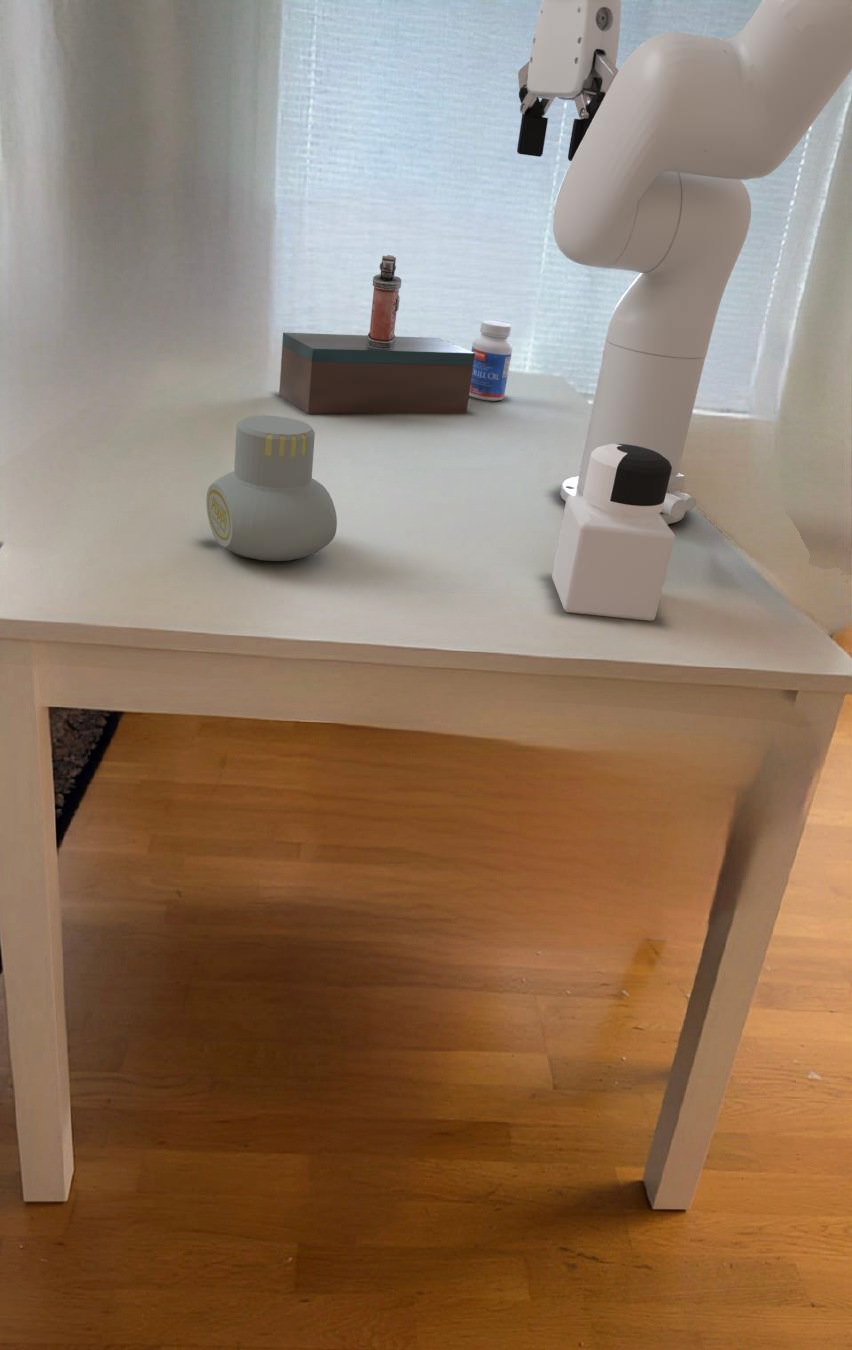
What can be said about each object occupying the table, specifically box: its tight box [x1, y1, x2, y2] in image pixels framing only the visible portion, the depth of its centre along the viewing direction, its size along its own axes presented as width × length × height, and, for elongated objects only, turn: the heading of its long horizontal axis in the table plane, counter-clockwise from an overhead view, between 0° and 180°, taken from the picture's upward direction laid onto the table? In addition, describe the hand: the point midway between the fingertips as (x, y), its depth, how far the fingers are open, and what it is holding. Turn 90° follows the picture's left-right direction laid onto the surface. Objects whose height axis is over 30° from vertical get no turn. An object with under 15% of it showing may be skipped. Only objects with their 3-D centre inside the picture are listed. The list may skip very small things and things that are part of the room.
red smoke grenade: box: [367, 254, 402, 349], centre depth 128 cm, size 8×3×10 cm, turn 179°
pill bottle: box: [469, 319, 513, 402], centre depth 144 cm, size 6×5×10 cm
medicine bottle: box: [551, 444, 676, 622], centre depth 81 cm, size 7×7×12 cm
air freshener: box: [206, 415, 338, 562], centre depth 82 cm, size 11×8×10 cm
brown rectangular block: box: [278, 332, 475, 415], centre depth 132 cm, size 9×22×8 cm, turn 119°
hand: (554, 158), depth 118 cm, fingers open, 9 cm apart
